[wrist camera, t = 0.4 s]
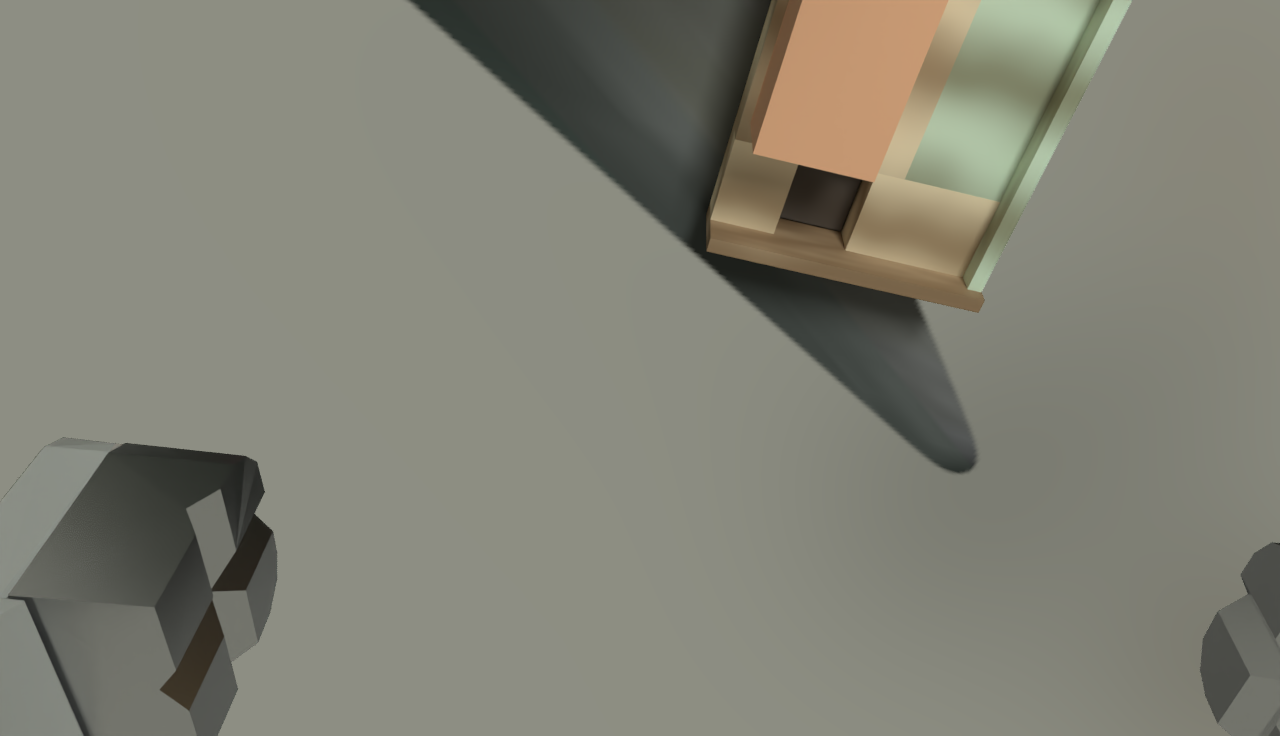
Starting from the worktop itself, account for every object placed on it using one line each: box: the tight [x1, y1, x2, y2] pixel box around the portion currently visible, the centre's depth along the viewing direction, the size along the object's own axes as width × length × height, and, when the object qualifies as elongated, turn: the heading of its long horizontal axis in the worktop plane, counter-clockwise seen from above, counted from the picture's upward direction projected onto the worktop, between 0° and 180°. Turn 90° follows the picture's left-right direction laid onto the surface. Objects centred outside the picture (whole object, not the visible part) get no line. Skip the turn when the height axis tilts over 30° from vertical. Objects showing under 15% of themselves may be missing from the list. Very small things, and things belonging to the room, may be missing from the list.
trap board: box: [706, 0, 1132, 313], centre depth 48 cm, size 24×15×4 cm, turn 167°
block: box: [750, 0, 949, 182], centre depth 46 cm, size 11×6×4 cm, turn 167°
